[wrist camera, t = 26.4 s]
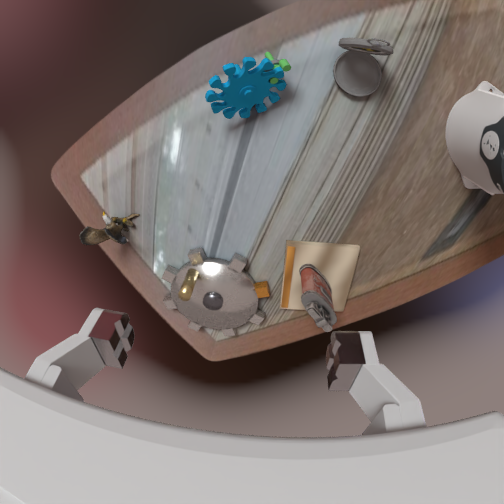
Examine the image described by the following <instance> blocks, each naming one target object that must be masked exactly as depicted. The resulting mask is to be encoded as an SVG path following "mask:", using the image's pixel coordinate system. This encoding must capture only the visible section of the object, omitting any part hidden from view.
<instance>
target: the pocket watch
mask: <svg viewBox="0 0 504 504" xmlns="http://www.w3.org/2000/svg"><path fill="white" fill-rule="evenodd" d="M373 40H377V41H373ZM378 41H382V42H385V43H387V44H385V43H382V42H378ZM339 46H341V47H342V48H344V49H347V50H349V51H346V52H344V53H342V54H341V55H340V56H339V57H338V58H337V60H336V61H335V64H334V70H333V72H334V77H335V80H336V82H337V83H338V85H339V86H340V88H341V89H343V90H344V91H345V92H347V93H348V94H351V95H354V96H367V95H369V94H372V93H373V92H374V91H376V89H377V88H378V87H379V85H380V83H381V78H382V73H381V68H380V66H379V64H378V62H377V61H376V59H375V58H374V57H373V56H371V55H370V54H375V55H390V54H393V48H392V46H390V43H389V42H387V41H385V40H382V39H376V38H372V39H368V40H367V39H360V38H342V39H340V41H339Z"/></svg>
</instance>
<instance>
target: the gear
mask: <svg viewBox="0 0 504 504" xmlns="http://www.w3.org/2000/svg"><path fill="white" fill-rule="evenodd" d="M265 56H266V58H265V59H263V60H262V62H261V63H260V64H259V66H257V67H256V68H254V69H252V70H250V71H248V70H249V69H251V68H253V67H254V66H255V65H256V61H255V59H254V58H252V57H244V59H243V67H242V69H241V68H240V67H239V65H238V64H235V65H234V64H233V63H229V64H226V65H224V66H223V70H224V72H225V74H226V75H228V81H227V82H226V83H221V80H220V78H219V76H217V75H215V76H213V77H212V78H211V79H210V80H209V84H210V86H211V87H212V88H219V89H221V90H222V91H223V92H222V93H219V94H217V93H215V92H214V91H213V90H208V91H207V93H206V96H205V98H206V101H207V102H213V101H217V100H223V101H224V102H222V103H220V102H213V103H211V107H212V110H213V112H214V113H219V112H220V111H221V110H223V109H224V110H223V114H224V116H225V117H226V118H228V119H231V118H232V117H233V116H234V114H235V113H236V112H237V111H238V110H240V109H241V110H240V111H239V115H240V117H241V118H248V117H249V116H250V110H251V108H252V107H253V106H254V105H255V104H257V105H256V106H255V107H256V110H257V112H258V113H261V112H264V111H266V110H267V108H266V106H265V104H264V103H263V99H264V98H265V97H267V96H269V99H270V101H271V103H275V102H277V101H278V100H279V99H280V97H279V95H278V93H276V92H272V91H270V90H269V89H270V88H272V87H276V88H277V89H278V90H279V91H283V90H284V89H285V87H286V85H287V84H286V82H285V81H284V80H282V79H281V80H278V78H279V79H280V78H283V77H284V72H283V71H289V70H290V69H291V66H290V64H289V63H288V62H287V60H286V59H281V60H280V61H279V60H277V59H274V58H273V57H272V55H271V54H270V52H266V53H265ZM282 69H283V70H282ZM234 74H235V75H234ZM228 107H231V108H228ZM225 108H227V109H225ZM242 108H243V109H242Z"/></svg>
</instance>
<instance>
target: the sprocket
mask: <svg viewBox="0 0 504 504" xmlns="http://www.w3.org/2000/svg"><path fill="white" fill-rule="evenodd" d="M188 257H189V259H190V262H188V263H186V264H185V265H183V266H182V267H181V268H180V269H179V270H177V269H176V268H174V267H172V266H170V265H168V266H167V268H166V270H165V272H164V274H163V276H162V279H164V280H166V281H168V282H170V283H172V285H171V295H167V296H165V298H164V300H163V302H164V304H165V305H166V307H167V309H178V310H179V311H180V312H181V313H182V314H183V315H184V316H185V317H186V318H187V319H189V320H190V321H189V325H188V327H189V328H191V329H193V330H195V331H198V330H199V329H200V327H201V326H203V327H207V328H211V329H222V331H223V333H224V335H225V336H234V335H236V327H239V326H241V325H243V324H245V323H246V322H248V321H250V322H252V323H254V324H257V325H259V324H260V323H261V322H262V321H263V319H264V316H265V312H262V311H260V310H258V309H257V307H258V299H259V298H262V297H269V296H270V289H269V286H268V283H267V281H264V282H258V283H255V281H254V280H253V278H252V277H251V276H250V275H249V274H248V273H247V272H246V271H245V270H244V269H243V268H244V267H245V265H246V263H247V258H245V257H243V256H241V255H239V254H237V253H235V254H234V256H233V257H232V259H231V260H230V261H227V260H224V259H220V258H206V256H205V254H204V251H203V249H202V247H201V248H196V249H191V250H190V251H189V253H188Z"/></svg>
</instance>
